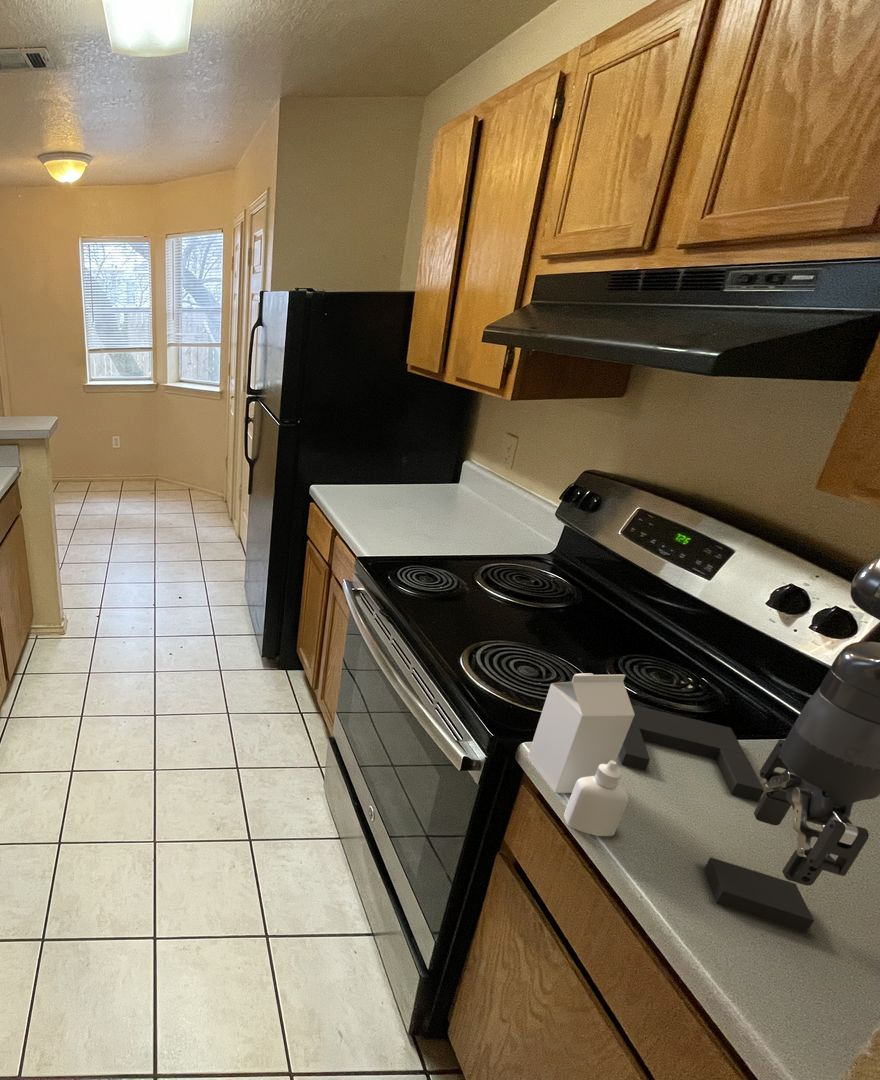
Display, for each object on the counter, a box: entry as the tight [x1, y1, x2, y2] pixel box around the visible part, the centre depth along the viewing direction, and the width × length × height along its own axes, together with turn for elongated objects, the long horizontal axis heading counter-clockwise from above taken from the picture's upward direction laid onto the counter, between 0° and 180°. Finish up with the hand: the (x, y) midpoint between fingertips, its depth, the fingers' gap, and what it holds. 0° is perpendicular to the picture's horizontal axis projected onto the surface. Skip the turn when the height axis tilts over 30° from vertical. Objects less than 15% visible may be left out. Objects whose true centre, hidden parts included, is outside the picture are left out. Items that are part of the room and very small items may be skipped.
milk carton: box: [527, 672, 635, 794], centre depth 85 cm, size 7×7×19 cm
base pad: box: [618, 703, 765, 802], centre depth 92 cm, size 16×14×3 cm
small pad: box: [703, 856, 815, 934], centre depth 70 cm, size 8×5×3 cm, turn 63°
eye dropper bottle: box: [563, 760, 629, 837], centre depth 78 cm, size 4×6×12 cm
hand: (779, 848), depth 67 cm, fingers open, 8 cm apart
